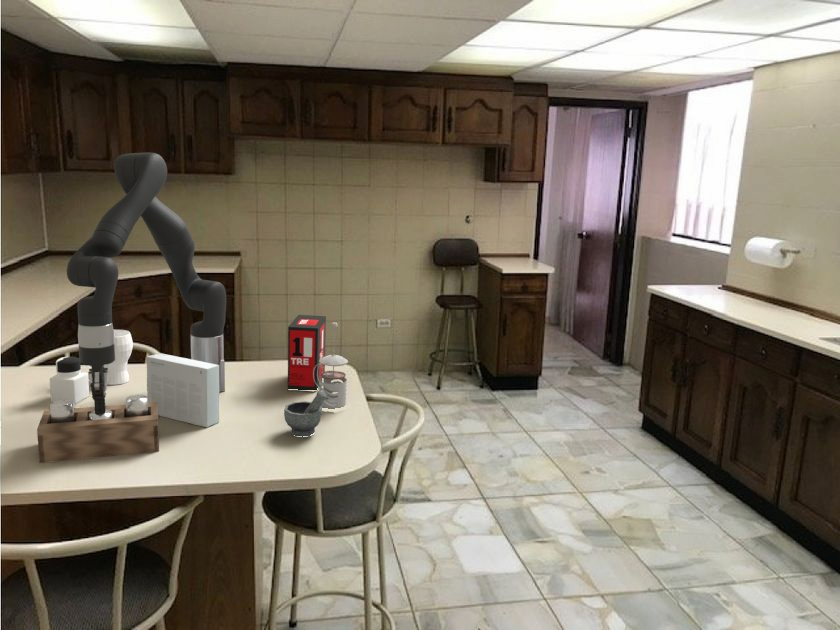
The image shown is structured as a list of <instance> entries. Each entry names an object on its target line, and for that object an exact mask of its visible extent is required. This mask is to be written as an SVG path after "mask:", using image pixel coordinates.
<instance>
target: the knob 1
mask: <svg viewBox="0 0 840 630" xmlns="http://www.w3.org/2000/svg"><path fill="white" fill-rule="evenodd" d="M74 408H75V404H73V401H70V400H60V401H55V402H51V403H50V404H49V410H50V413H51V423H63V422H75V420H74Z"/></svg>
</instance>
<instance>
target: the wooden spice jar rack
mask: <svg viewBox="0 0 840 630" xmlns="http://www.w3.org/2000/svg"><path fill="white" fill-rule="evenodd" d="M105 408H106V410H110V411H112V419H100V420H90V416H89V414H90V413H91V412H92V411H95V406H85V407H84V406H83V407H74V420H75V422H63V423H51V413H50V409H45V410H43V413H42V415H41V418H40V420H39V423H38V426H37V428H36V433H37V434H36V435H37V447H38V449H37V450H38V461H39V462H38V463H39V464H43V463H53V462H63V461H64V462H65V461H72V460H73V461H74V460H83V459H84V460H85V459H93V458H104V457H112V456H124V455H133V454H141V453H143V454H144V453H153V452H160V444H159V443H160V441H159V438H160V437H159V436H160V435H159V415H158V411H157V402H150V403H148V416H137V417H127V411H126V403H125V404H113V405H112V404H111V405H105Z"/></svg>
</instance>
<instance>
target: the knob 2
mask: <svg viewBox="0 0 840 630" xmlns="http://www.w3.org/2000/svg"><path fill="white" fill-rule="evenodd" d="M125 404H126V411H127V417H137V416H148V397H147V395H145V394H134V395H129V396H127V397H126V398H125Z"/></svg>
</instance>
